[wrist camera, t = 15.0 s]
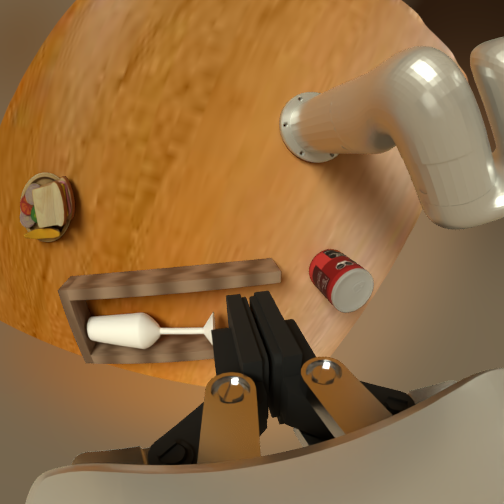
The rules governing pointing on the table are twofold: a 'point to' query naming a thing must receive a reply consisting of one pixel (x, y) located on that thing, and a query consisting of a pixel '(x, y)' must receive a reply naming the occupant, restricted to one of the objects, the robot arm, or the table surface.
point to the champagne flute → (137, 330)
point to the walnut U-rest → (156, 284)
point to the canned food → (341, 280)
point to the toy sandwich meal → (47, 207)
